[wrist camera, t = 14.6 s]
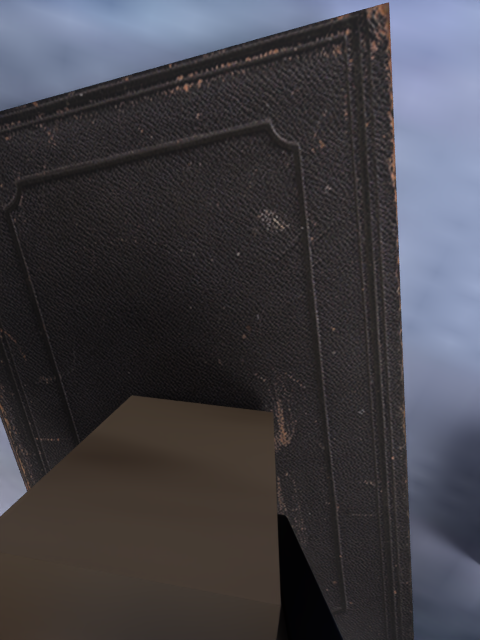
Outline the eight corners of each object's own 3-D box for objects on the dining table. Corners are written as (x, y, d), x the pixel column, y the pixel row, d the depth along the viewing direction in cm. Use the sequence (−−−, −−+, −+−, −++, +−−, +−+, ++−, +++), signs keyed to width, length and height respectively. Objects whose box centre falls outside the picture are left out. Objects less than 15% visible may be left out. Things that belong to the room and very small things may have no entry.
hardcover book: (358, 69, 9) (390, -1, 6) (389, 592, 13) (415, 662, 10) (-34, 168, 11) (-114, 141, 8) (101, 589, 15) (72, 646, 13)
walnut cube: (260, 532, 9) (253, 811, 5) (134, 511, 10) (5, 744, 5) (273, 412, 8) (280, 604, 4) (131, 395, 9) (-32, 545, 4)
